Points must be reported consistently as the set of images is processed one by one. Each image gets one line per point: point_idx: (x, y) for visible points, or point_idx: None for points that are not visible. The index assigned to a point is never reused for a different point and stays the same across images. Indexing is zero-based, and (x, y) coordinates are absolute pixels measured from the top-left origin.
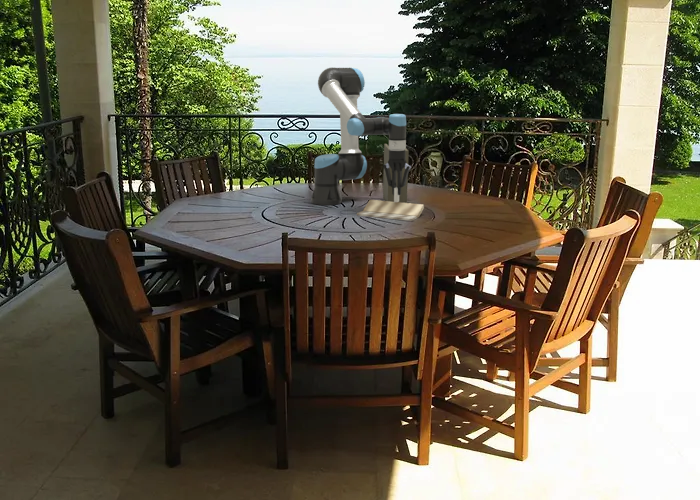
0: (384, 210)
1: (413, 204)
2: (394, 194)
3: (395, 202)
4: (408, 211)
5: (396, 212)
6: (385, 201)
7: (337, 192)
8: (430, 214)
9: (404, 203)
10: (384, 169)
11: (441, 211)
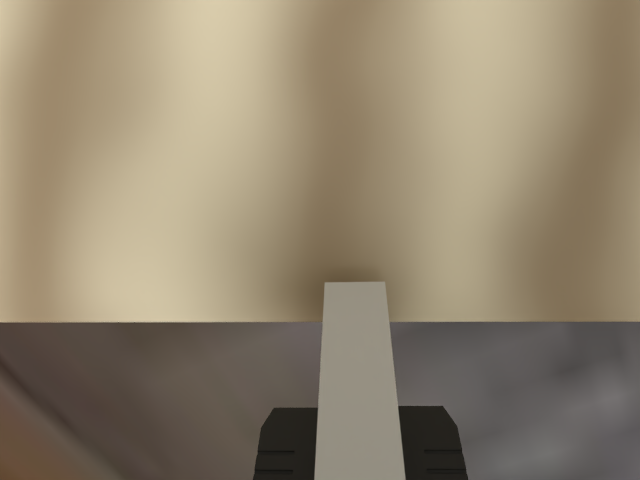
0: (485, 21)
1: (46, 297)
2: (386, 389)
3: None
4: (40, 79)
5: (237, 4)
6: (564, 310)
7: None
8: (17, 347)
9: (206, 303)
10: None
11: (31, 477)
